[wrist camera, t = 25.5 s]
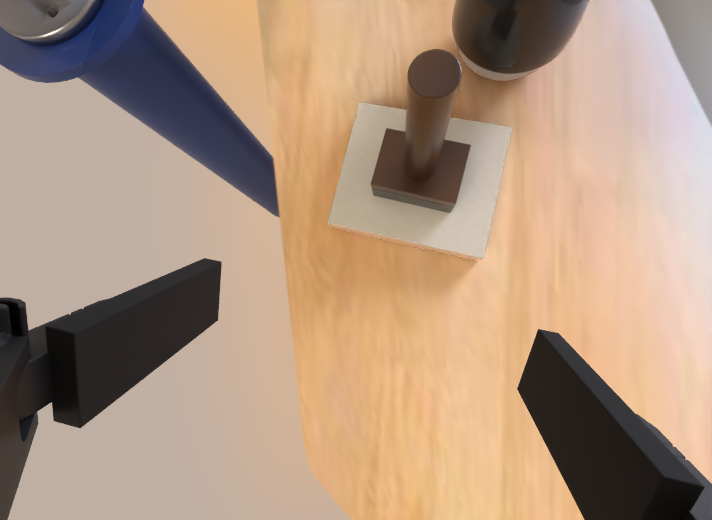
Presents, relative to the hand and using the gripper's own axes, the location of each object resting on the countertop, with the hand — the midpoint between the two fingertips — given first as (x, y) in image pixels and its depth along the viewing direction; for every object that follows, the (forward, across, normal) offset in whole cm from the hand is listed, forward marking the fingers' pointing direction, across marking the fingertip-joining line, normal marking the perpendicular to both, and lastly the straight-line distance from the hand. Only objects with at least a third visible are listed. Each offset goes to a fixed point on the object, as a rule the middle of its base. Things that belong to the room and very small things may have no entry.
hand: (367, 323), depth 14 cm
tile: (+21, +2, +5) cm, 21 cm away
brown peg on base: (+19, +2, +6) cm, 20 cm away
